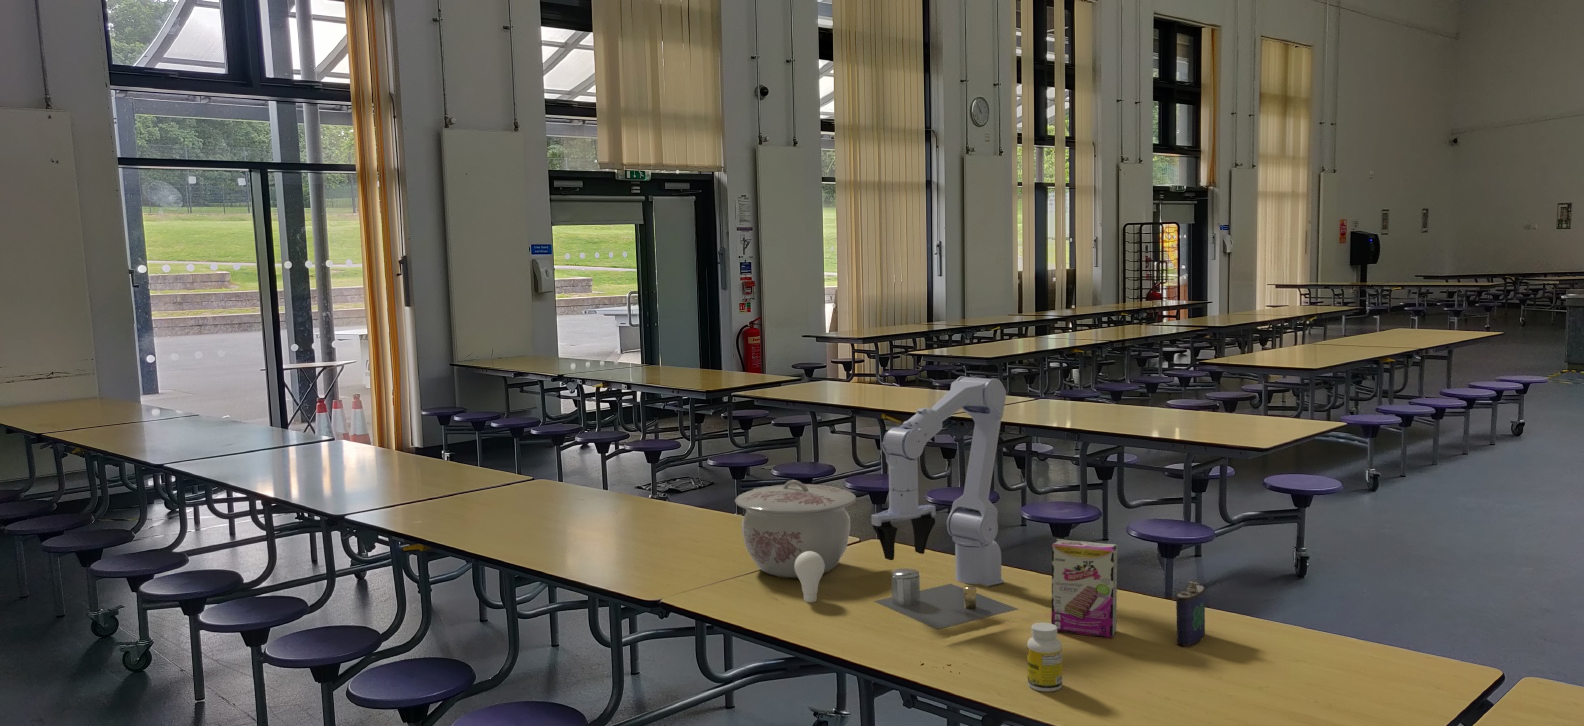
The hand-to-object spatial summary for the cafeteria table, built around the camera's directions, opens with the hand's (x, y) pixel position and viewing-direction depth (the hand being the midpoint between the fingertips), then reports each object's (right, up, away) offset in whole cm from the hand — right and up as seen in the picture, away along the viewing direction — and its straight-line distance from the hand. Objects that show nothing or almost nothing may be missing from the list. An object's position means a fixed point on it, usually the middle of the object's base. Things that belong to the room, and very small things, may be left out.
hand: (904, 555), depth 204 cm
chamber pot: (-21, -9, +29) cm, 37 cm away
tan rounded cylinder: (+12, -9, -4) cm, 16 cm away
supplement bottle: (+18, -14, -40) cm, 46 cm away
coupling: (0, -9, +1) cm, 9 cm away
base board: (+8, -10, -2) cm, 13 cm away
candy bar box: (+31, -11, -15) cm, 37 cm away
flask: (+49, -11, -21) cm, 54 cm away
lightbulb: (-19, -11, +3) cm, 22 cm away
